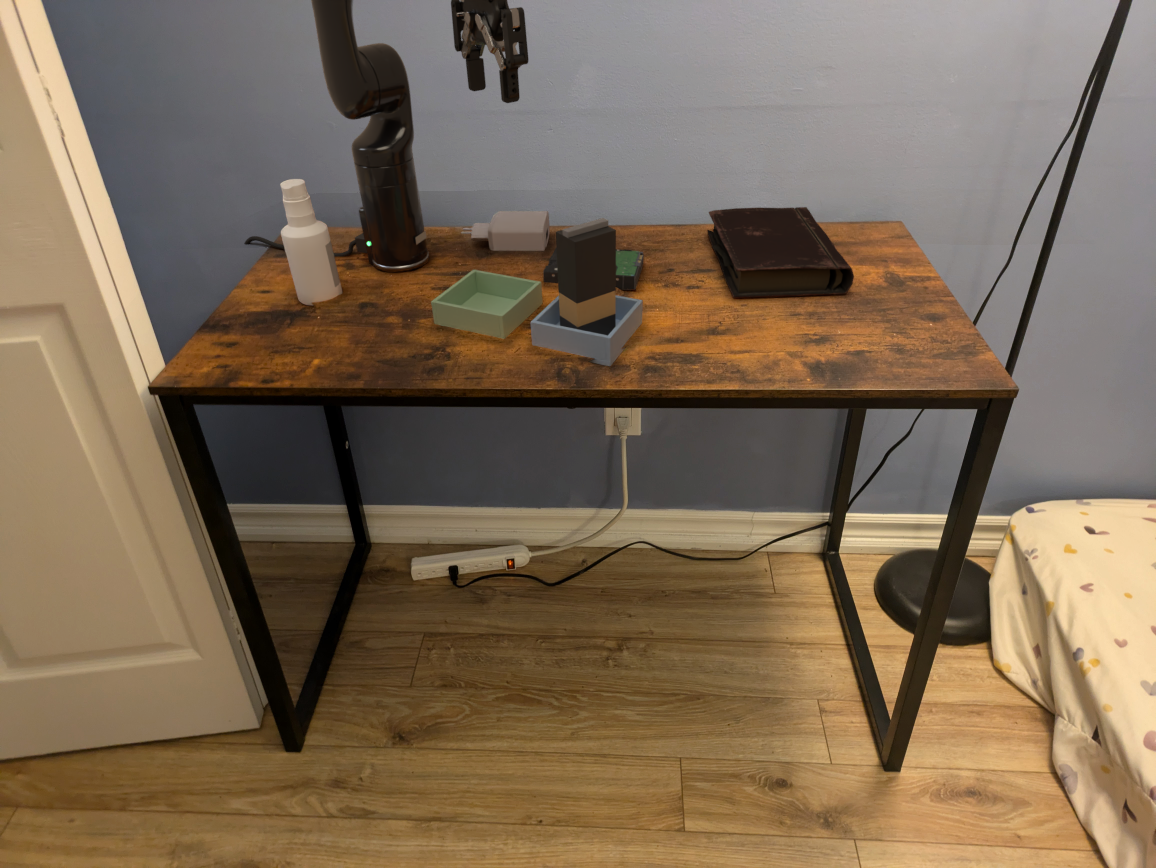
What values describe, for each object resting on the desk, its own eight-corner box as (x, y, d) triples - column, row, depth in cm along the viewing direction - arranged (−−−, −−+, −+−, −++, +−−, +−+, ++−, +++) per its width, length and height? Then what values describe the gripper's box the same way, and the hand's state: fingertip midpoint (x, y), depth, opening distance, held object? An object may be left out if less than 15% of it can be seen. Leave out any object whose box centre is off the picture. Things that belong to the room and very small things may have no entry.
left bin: (434, 328, 111) (430, 301, 108) (476, 294, 119) (473, 269, 117) (504, 343, 107) (502, 316, 104) (543, 307, 115) (541, 281, 113)
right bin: (532, 349, 105) (530, 321, 103) (568, 312, 114) (567, 286, 111) (610, 366, 101) (610, 338, 98) (642, 327, 109) (642, 300, 107)
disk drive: (543, 288, 121) (636, 291, 118) (542, 271, 119) (636, 275, 117) (556, 261, 129) (643, 264, 127) (555, 245, 127) (644, 248, 125)
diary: (806, 232, 136) (811, 204, 133) (850, 295, 116) (856, 264, 113) (702, 236, 136) (704, 208, 133) (727, 300, 116) (731, 269, 113)
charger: (468, 234, 139) (550, 234, 138) (458, 254, 132) (544, 255, 131) (465, 208, 137) (548, 208, 135) (455, 228, 129) (543, 228, 128)
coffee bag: (615, 333, 107) (616, 223, 97) (578, 347, 104) (574, 235, 94) (597, 321, 110) (595, 214, 100) (560, 334, 107) (555, 225, 97)
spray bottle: (352, 291, 121) (326, 178, 111) (323, 309, 117) (294, 193, 106) (318, 284, 124) (290, 172, 113) (289, 302, 119) (257, 187, 108)
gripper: (541, -54, 85) (548, 101, 94) (479, -60, 94) (491, 82, 104) (482, -49, 81) (496, 111, 91) (423, -55, 91) (441, 90, 101)
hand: (493, 95), depth 97 cm, fingers open, 8 cm apart
